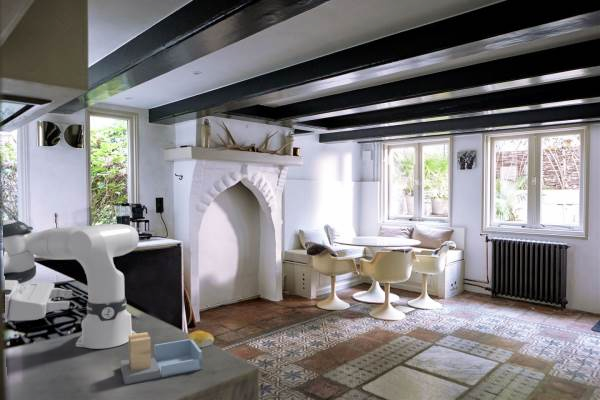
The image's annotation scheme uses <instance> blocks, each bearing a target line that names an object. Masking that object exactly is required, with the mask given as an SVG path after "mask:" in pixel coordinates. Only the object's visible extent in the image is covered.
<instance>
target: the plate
mask: <svg viewBox="0 0 600 400" xmlns="http://www.w3.org/2000/svg"><path fill="white" fill-rule="evenodd" d="M120 371H121V375H122V380H123V383H124V385H129V384H134V383H135V384H136V383H139V382H144V381H150V380H156V379H160V378H162V377H161V374H160V368H159V366H158V364H157V362H156V359H155V354H154V355H153V354H151V368H146V369H140V370H135V371H131V368H130V365H129V358H128V359H123V360H120Z"/></svg>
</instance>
